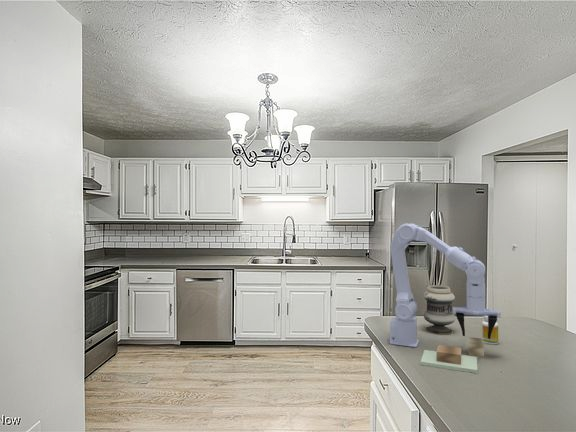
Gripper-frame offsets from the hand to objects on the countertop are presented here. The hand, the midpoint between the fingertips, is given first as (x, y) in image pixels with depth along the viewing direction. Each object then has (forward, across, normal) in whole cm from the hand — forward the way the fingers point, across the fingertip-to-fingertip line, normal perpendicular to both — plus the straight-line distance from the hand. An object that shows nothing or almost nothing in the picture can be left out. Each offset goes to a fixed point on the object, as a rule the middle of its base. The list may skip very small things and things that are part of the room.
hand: (476, 336), depth 129 cm
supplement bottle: (+6, +5, +16) cm, 18 cm away
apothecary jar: (+6, -13, +24) cm, 28 cm away
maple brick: (+6, 0, 0) cm, 6 cm away
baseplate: (+6, -8, -12) cm, 16 cm away
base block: (+6, -8, -12) cm, 16 cm away
